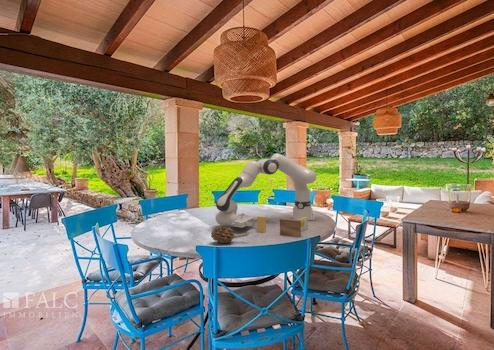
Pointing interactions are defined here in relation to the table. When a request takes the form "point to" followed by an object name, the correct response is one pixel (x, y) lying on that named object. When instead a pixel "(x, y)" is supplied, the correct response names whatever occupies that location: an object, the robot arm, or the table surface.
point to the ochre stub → (261, 223)
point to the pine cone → (224, 234)
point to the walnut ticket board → (290, 227)
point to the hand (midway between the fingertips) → (255, 222)
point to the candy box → (304, 224)
